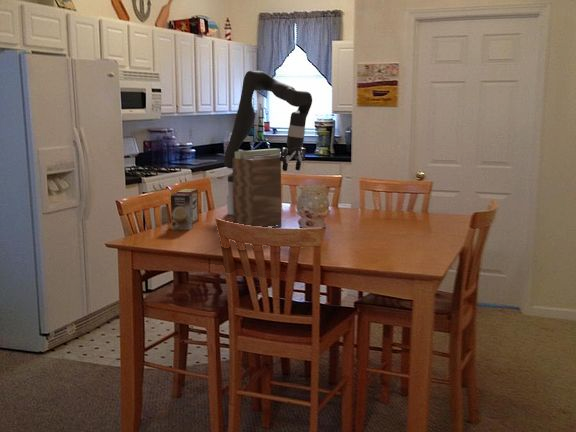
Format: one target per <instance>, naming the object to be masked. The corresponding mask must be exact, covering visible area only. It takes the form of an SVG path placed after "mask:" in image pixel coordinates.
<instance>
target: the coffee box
mask: <svg viewBox="0 0 576 432" xmlns="http://www.w3.org/2000/svg"><path fill="white" fill-rule="evenodd" d="M170 219H171V220H170V221H171V230H174V231H178V230H180V231H191V230H192V229H193V228H194V223H193V198H192V194H179V193H177V192H176V193H175V192H174V193H172V194H171V195H170Z"/></svg>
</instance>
